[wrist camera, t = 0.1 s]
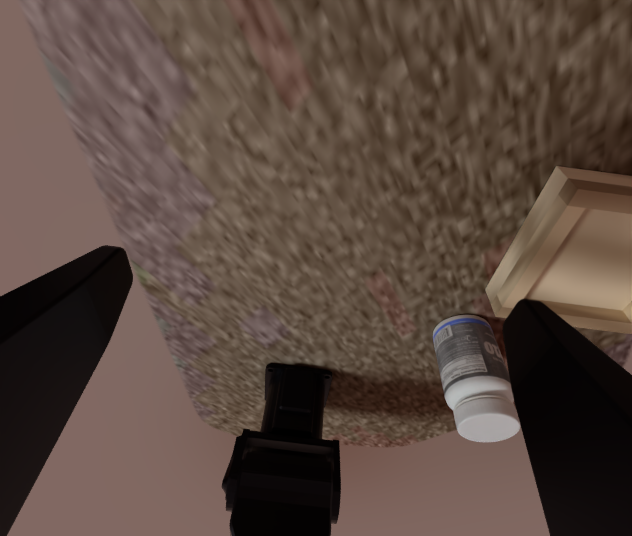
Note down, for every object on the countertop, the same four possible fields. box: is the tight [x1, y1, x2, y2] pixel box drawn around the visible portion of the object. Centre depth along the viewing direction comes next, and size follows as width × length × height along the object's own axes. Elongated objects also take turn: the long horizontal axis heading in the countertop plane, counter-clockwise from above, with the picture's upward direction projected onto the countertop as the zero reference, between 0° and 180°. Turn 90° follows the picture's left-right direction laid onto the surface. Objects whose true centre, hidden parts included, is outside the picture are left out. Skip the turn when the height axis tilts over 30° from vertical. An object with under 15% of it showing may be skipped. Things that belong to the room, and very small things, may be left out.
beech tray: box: [485, 166, 632, 334], centre depth 23 cm, size 10×10×3 cm
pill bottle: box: [433, 315, 520, 442], centre depth 28 cm, size 5×5×8 cm
